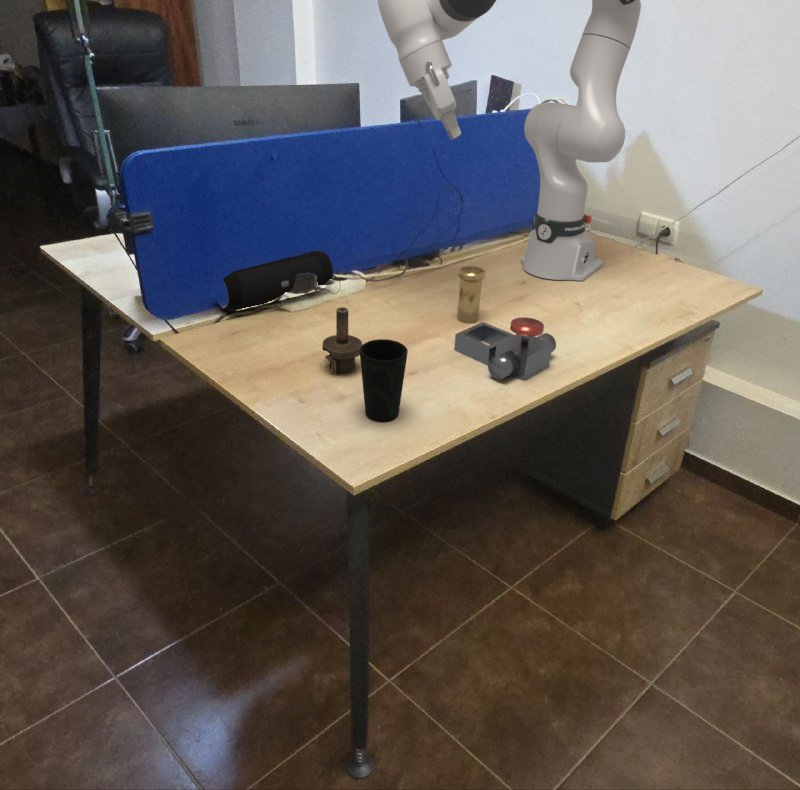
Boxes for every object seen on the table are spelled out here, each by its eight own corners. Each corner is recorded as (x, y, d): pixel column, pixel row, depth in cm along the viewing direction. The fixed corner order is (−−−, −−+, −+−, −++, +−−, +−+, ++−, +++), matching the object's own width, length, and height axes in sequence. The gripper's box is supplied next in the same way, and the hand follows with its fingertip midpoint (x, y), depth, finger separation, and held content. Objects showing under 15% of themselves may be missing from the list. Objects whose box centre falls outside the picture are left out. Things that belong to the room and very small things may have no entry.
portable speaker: (232, 321, 147) (228, 276, 142) (212, 305, 154) (207, 261, 148) (335, 295, 161) (334, 253, 156) (312, 281, 167) (311, 240, 162)
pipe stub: (466, 311, 155) (470, 264, 149) (485, 319, 152) (490, 271, 146) (449, 318, 152) (453, 270, 146) (469, 326, 148) (473, 277, 143)
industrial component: (332, 382, 127) (330, 321, 120) (315, 364, 132) (313, 305, 126) (377, 370, 131) (378, 311, 125) (359, 354, 136) (359, 296, 130)
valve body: (492, 332, 146) (497, 291, 142) (560, 360, 137) (567, 318, 132) (441, 355, 137) (444, 313, 132) (510, 388, 127) (516, 343, 122)
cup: (351, 419, 116) (351, 355, 110) (369, 397, 122) (370, 335, 116) (395, 430, 114) (397, 364, 108) (411, 407, 120) (414, 344, 114)
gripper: (444, 51, 124) (475, 127, 127) (440, 66, 143) (467, 132, 147) (411, 67, 125) (443, 143, 128) (412, 80, 144) (439, 145, 148)
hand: (456, 137), depth 138 cm, fingers open, 8 cm apart
